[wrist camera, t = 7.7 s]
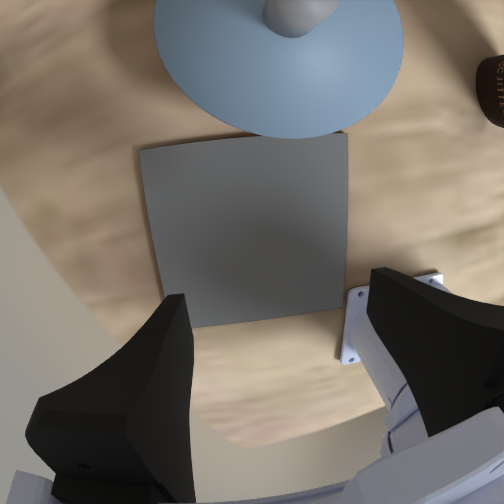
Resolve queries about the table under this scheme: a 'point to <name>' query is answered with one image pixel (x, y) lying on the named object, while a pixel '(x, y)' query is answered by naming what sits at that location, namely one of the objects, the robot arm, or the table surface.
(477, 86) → the coffee mug
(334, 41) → the lid
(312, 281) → the mat
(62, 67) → the table surface
